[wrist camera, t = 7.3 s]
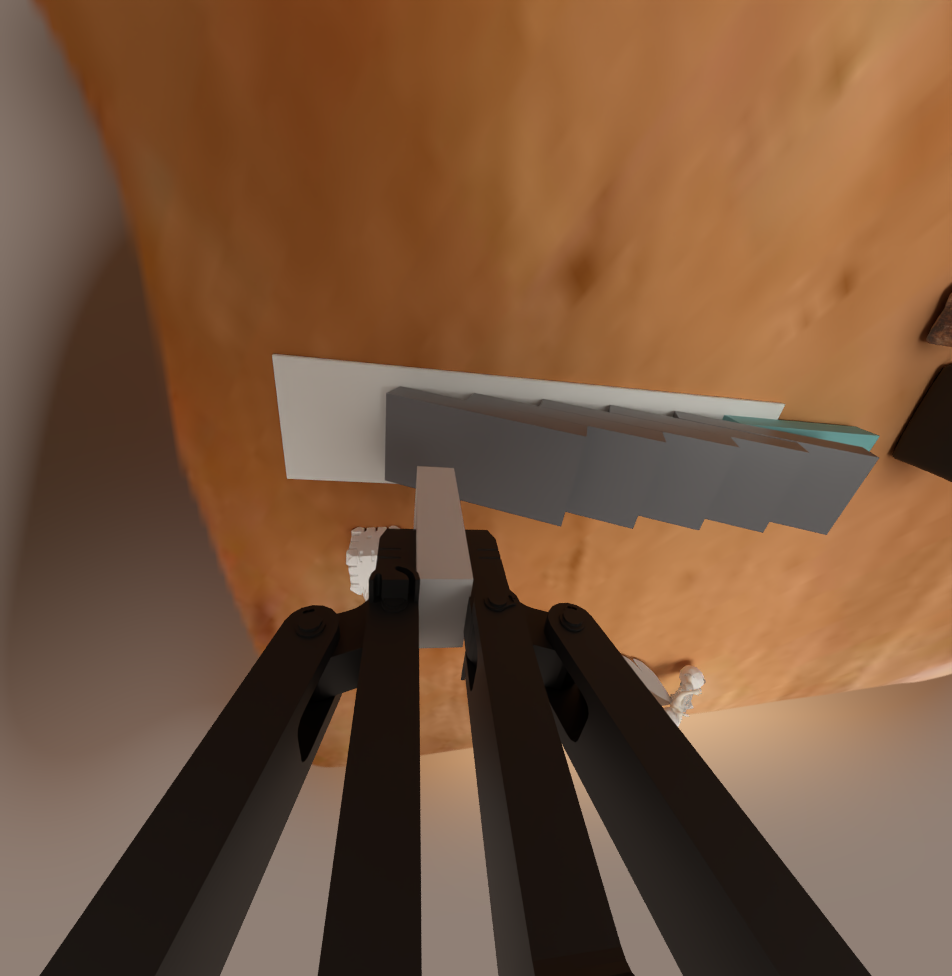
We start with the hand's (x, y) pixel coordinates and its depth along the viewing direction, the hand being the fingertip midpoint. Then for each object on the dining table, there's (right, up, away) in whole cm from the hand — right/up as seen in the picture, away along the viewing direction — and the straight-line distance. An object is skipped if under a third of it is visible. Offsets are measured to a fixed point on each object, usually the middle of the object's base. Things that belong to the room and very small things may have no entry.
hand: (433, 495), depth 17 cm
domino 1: (-3, +3, +5) cm, 7 cm away
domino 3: (+5, +3, +7) cm, 9 cm away
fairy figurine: (+21, -16, +23) cm, 35 cm away
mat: (+6, +3, +8) cm, 10 cm away
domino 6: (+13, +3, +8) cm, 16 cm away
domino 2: (+1, +3, +6) cm, 7 cm away
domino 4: (+9, +3, +7) cm, 12 cm away
